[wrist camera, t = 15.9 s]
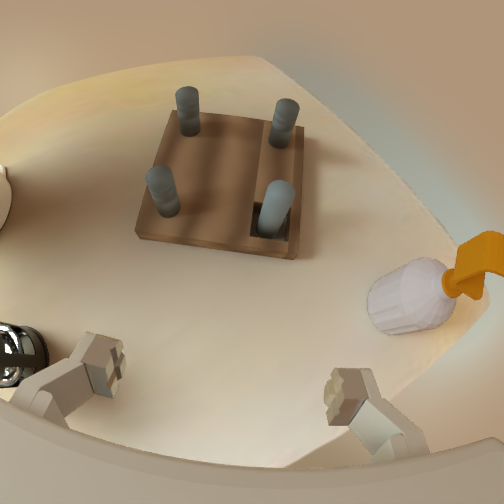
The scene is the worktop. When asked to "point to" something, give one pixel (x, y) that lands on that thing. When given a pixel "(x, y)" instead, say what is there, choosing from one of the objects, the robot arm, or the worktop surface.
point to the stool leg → (274, 208)
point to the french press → (19, 354)
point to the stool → (222, 178)
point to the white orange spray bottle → (434, 286)
